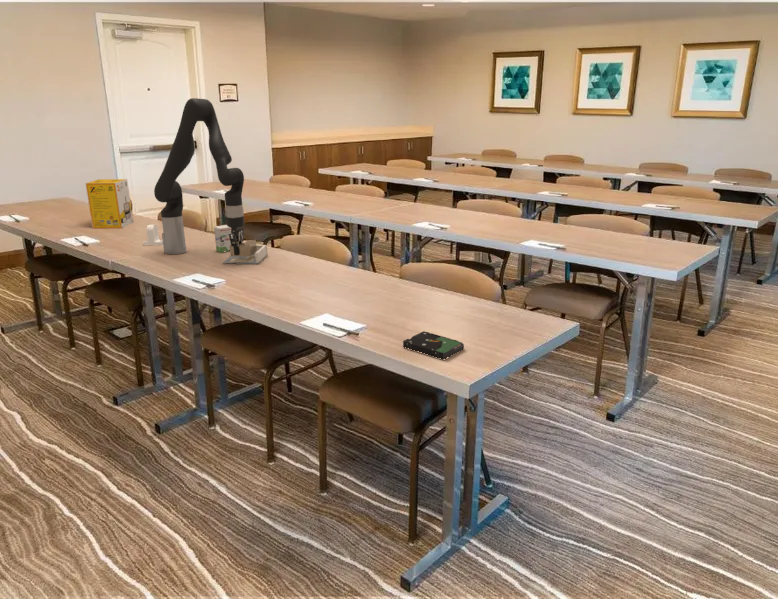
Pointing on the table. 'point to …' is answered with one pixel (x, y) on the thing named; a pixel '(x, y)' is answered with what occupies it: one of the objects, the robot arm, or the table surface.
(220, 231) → the ink box
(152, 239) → the cable organizer
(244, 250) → the tan boxy piece
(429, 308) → the table surface
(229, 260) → the tray
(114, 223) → the packaging box
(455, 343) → the disk drive
